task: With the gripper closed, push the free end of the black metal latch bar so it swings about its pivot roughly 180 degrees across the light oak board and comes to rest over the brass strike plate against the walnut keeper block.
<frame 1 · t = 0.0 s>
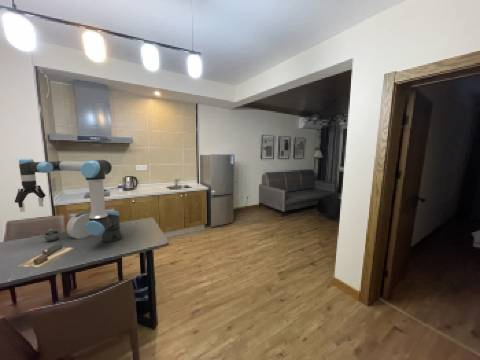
hand: (32, 208, 153), 28 cm above the table, fingers open, 13 cm apart
latch bar: (52, 249, 143), point 3 cm above the table, hinge at -90.0°
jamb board: (49, 257, 139), on the table
alarm clock: (84, 235, 175), on the table
mortar and pestle: (52, 242, 162), on the table
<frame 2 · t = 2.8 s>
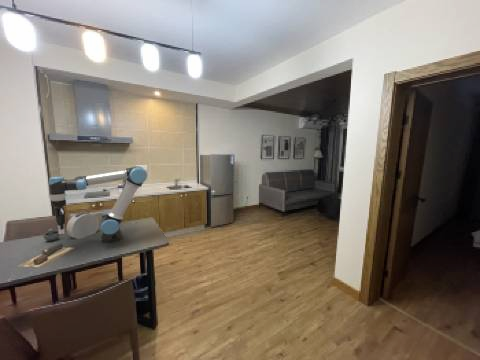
hand: (61, 233, 142), 15 cm above the table, fingers closed
nothing on the table moved.
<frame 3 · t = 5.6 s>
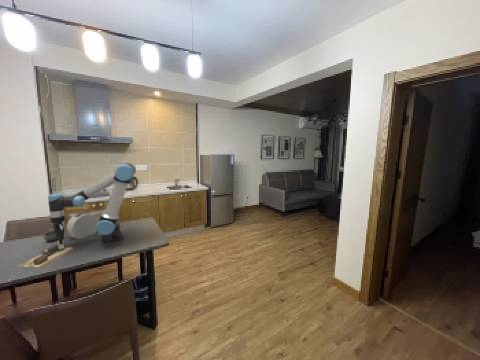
hand: (61, 248, 147), 3 cm above the table, fingers closed
latch bar: (52, 249, 143), point 3 cm above the table, hinge at -89.9°, touching gripper
everything else where it was.
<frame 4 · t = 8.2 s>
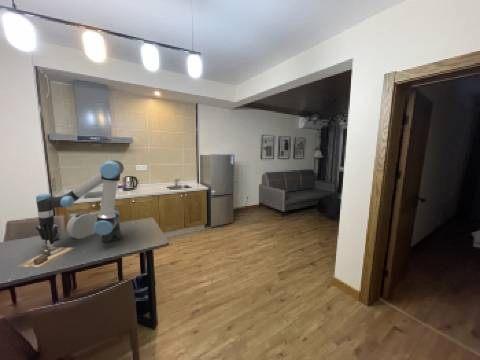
hand: (50, 248, 147), 2 cm above the table, fingers closed
latch bar: (45, 250, 142), point 3 cm above the table, hinge at -41.5°, touching gripper
everything else where it was.
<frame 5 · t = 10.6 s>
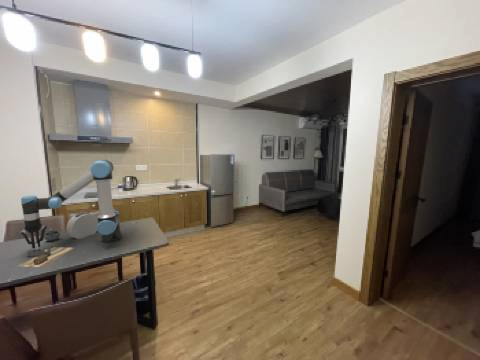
hand: (37, 252, 141), 2 cm above the table, fingers closed
latch bar: (39, 252, 139), point 3 cm above the table, hinge at 4.0°, touching gripper
everything else where it was.
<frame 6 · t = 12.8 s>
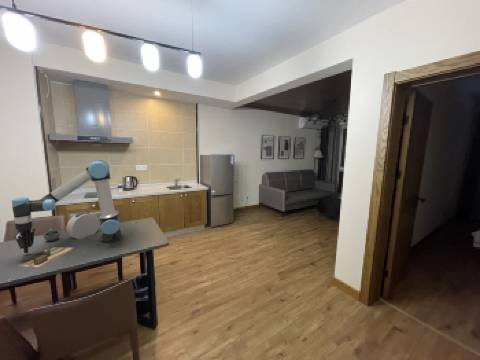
hand: (28, 256, 135), 3 cm above the table, fingers closed
latch bar: (37, 254, 136), point 3 cm above the table, hinge at 46.8°, touching gripper
everything else where it was.
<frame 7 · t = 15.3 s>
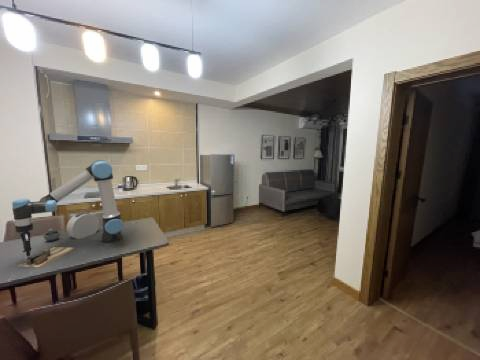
hand: (28, 260, 131), 3 cm above the table, fingers closed
latch bar: (39, 256, 134), point 3 cm above the table, hinge at 85.9°, touching gripper
everything else where it was.
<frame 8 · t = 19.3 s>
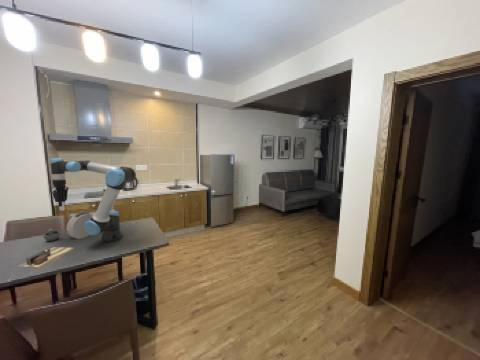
hand: (62, 210, 156), 26 cm above the table, fingers closed
latch bar: (39, 256, 134), point 3 cm above the table, hinge at 86.0°
everything else where it was.
at the end: latch bar at +86° (first picture: -90°); the gripper is holding nothing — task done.
